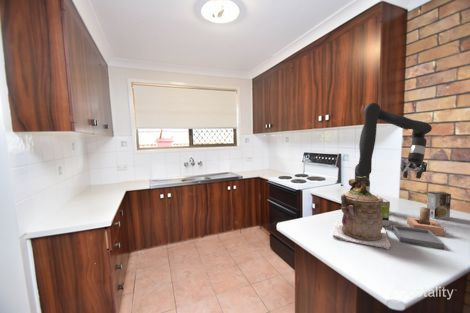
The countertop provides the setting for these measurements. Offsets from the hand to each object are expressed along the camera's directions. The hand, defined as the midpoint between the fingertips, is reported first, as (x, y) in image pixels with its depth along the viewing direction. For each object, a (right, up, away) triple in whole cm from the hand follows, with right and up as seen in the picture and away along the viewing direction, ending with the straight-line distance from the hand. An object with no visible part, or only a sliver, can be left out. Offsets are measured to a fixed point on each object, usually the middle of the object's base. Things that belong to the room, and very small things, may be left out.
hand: (411, 178), depth 130 cm
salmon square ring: (-6, -27, -15) cm, 32 cm away
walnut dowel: (-6, -27, -15) cm, 32 cm away
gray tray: (-20, -28, -25) cm, 43 cm away
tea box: (-26, -26, -3) cm, 37 cm away
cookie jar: (-45, -28, -21) cm, 57 cm away
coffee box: (+19, -26, +2) cm, 32 cm away
